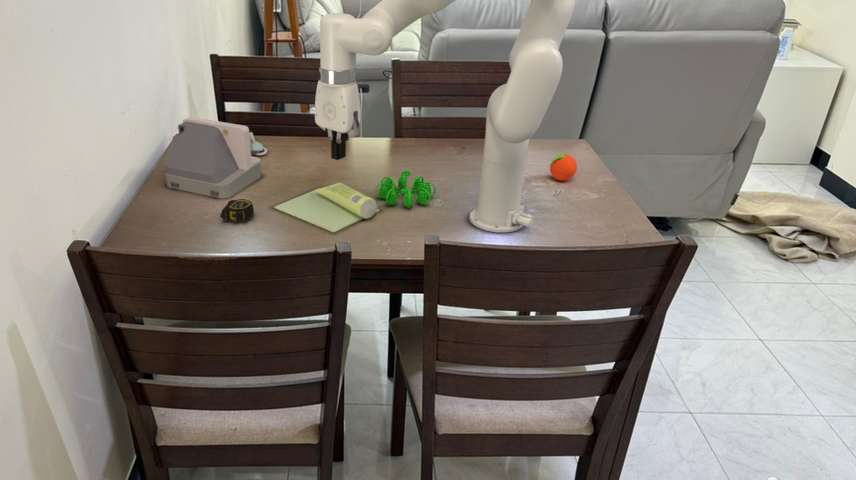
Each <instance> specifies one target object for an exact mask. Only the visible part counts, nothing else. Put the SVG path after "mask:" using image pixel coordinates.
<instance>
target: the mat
mask: <svg viewBox="0 0 856 480" xmlns="http://www.w3.org/2000/svg"><path fill="white" fill-rule="evenodd" d="M321 188H322V187H318V188H316V189H315V190H318V189H321ZM273 209H275V210H278V211H280V212H282V213H284V214H287V215H290V216H293V217H294V218H297V219H299V220H302V221H304V222H307V223H310V224H311V225H315V226H316V227H319V228H322V229H324V230H326V231H329V232H331V233H337V232H339V231H341V230H344V229H345V228H347V227H349V226H351V225H353V224H355V223H358V222H359V221H361V220H364V219H365V218H362V217H360V216H359V215H357V214H355V213H353V212H351V211H350V210H348V209H346V208H344V207H343V206H341V205H339V204H337V203H335V202H334V201H332V200H330V199H328V198H326V197H324V196H323V195H321V194H319V193H317V192H315V191H314V190H312V191H309V192H306V193H305V194H302V195H298V196H297V197H294V198H292V199H290V200H287V201H285V202H282V203H280V204H277V205H275V206H273ZM379 212H380V209H379V208H377V210H376V213H379Z"/></svg>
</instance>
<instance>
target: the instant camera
mask: <svg viewBox="0 0 856 480" xmlns="http://www.w3.org/2000/svg"><path fill="white" fill-rule="evenodd" d="M177 131H178V133H177V134H175V135H173V136H172V139H171V143H170V146H169V149H168V152H167V155H166V159H165V169H166V172H165V182H166V187H168V188H169V189H175V190H178V191H184V192H188V193H193V194H198V195H202V196H207V197H212V198H217V199H228V198H231V197H233V196H235V194H238V193H239V192H240V191H242V190H243V189H245V188H246V187H248V186H249V185H251V184H253V183H255V181H256V182H257V180H259V179H260V178H261V177H262V168H261V158H260V157H258V156H254V155H251V150H250V147H251V146H250V137H249V133H250V129H249V126H247V125H243V124H238V123H237V124H236V123H232V122H231V123H230V122H226V121H225V122H224V121H218V120H212V119H206V118H200V117H194V116H189V117H187V118H186V117H185V118H184V119H183V120H182V123H179V124H178V125H177Z"/></svg>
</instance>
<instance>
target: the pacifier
mask: <svg viewBox="0 0 856 480" xmlns="http://www.w3.org/2000/svg"><path fill="white" fill-rule="evenodd" d="M249 137H250V150H251V156H256V157H258V156H260V157H261V156H264V155H266V154H267V153H268V149H267V148H266V147H264V146H263V144H262V143H261V142H259V141H256V140H255V139H256V138H255V136H254V133H253V132H252V131H249Z"/></svg>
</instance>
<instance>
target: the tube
mask: <svg viewBox="0 0 856 480" xmlns="http://www.w3.org/2000/svg"><path fill="white" fill-rule="evenodd" d="M320 188H321V189H319V188H317V189H318V190H316V189H313V191H315V192H317V193H319V194H321V195H323V196H324V197H326V198H328V199H330V200H332V201H334V202H335V203H337V204H339V205H341V206H343V207H344V208H346V209H348V210H350V211H351V212H353V213H355V214H357V215H359V216H360V217H362V218H364V219H366V220H369V219H371V218H373V216H375V215H376V213H377V212H376V210H377V209H378V204H377V201H376V200H375V199H374V198H372V197H370V196H368V195H365V194H364V193H362V192H360V191H358V190H356V189H355V188H352V187H351V186H348V185H346V184H344V183H342V182H337V183H333V184H330V185H326V186H324V187H320Z"/></svg>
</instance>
